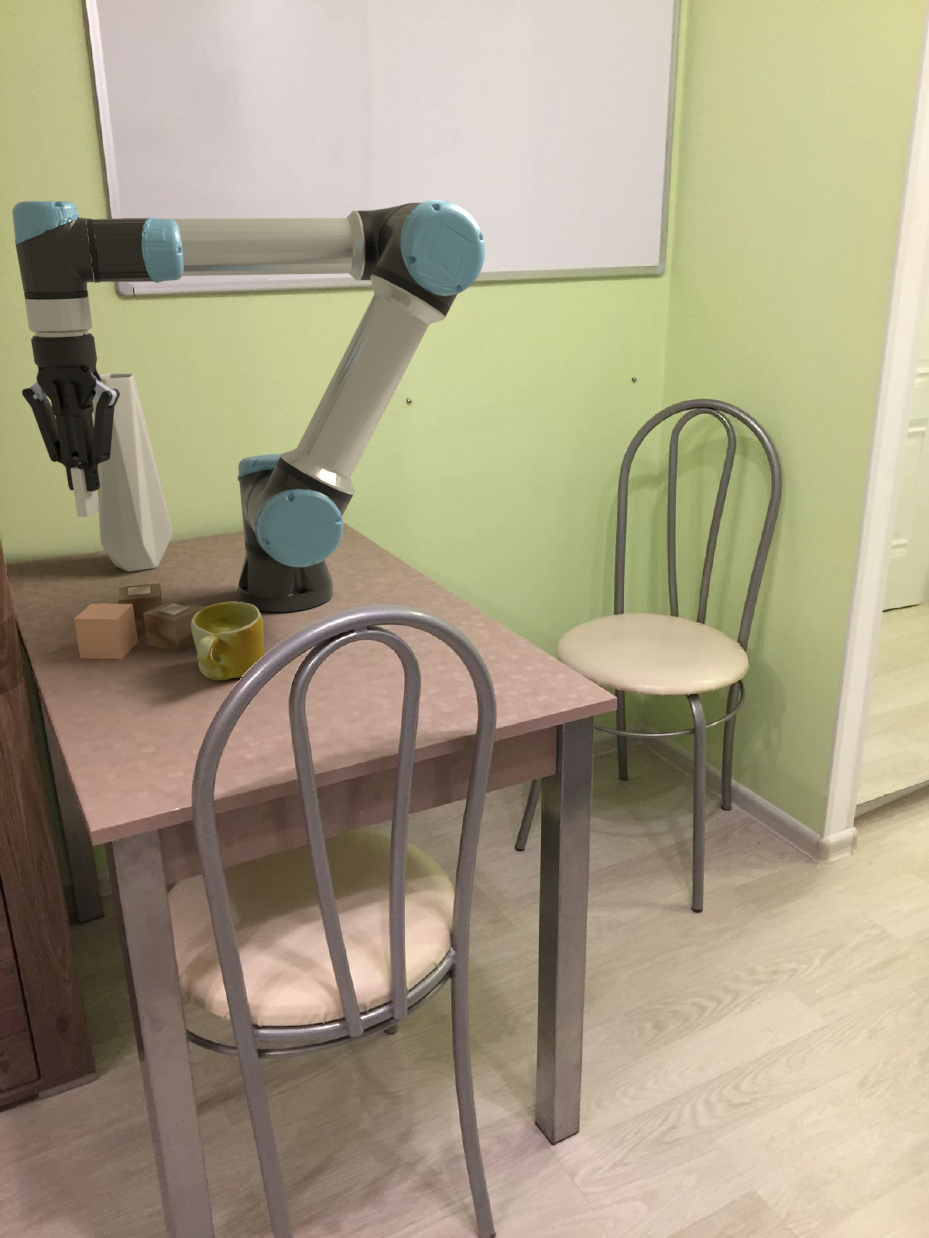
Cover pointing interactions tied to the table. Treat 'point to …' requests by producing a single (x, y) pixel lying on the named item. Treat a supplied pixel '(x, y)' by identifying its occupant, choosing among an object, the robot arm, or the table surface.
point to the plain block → (106, 631)
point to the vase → (131, 486)
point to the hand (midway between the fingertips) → (88, 513)
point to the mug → (227, 639)
